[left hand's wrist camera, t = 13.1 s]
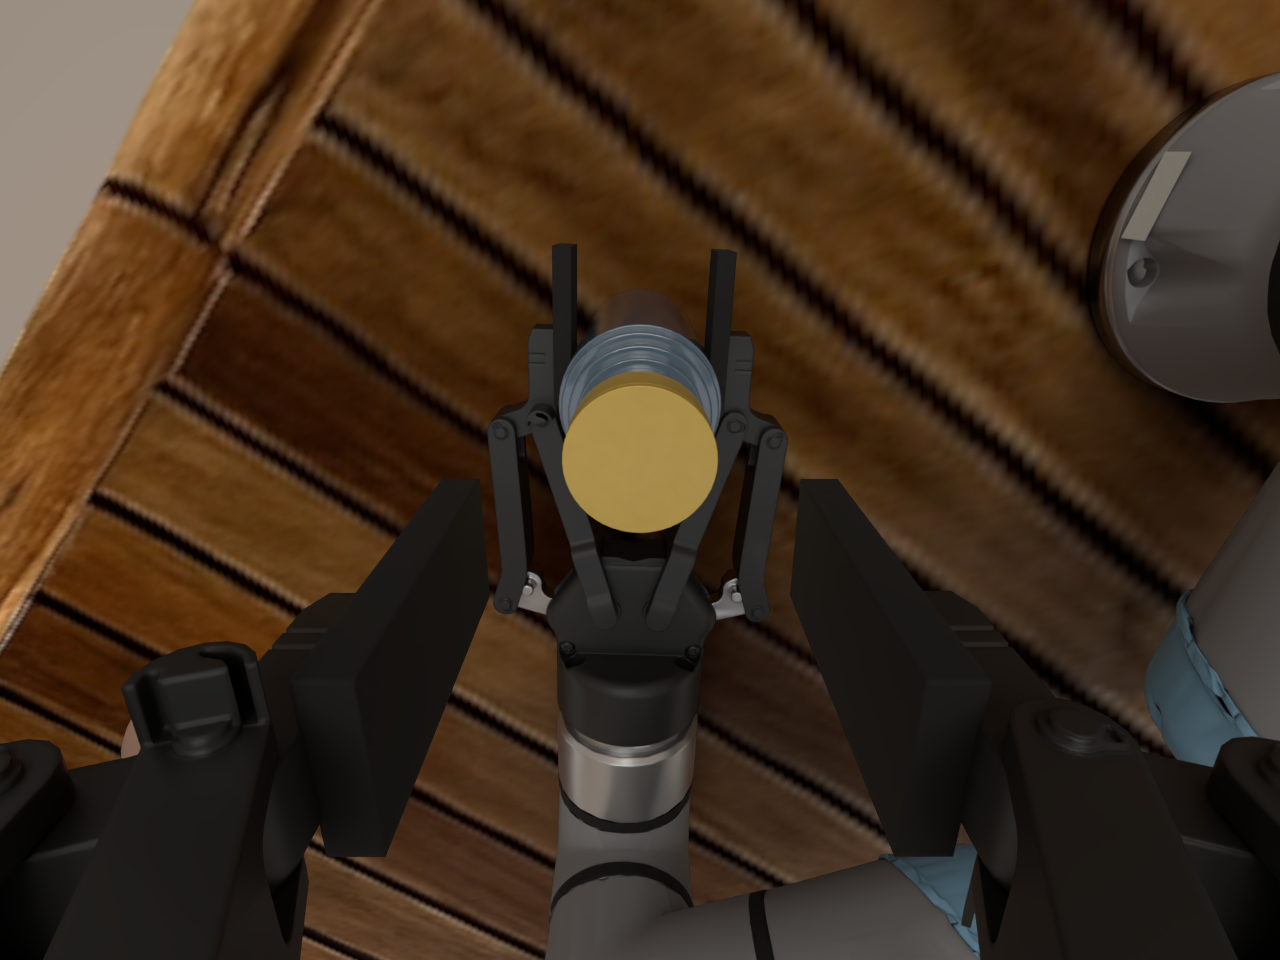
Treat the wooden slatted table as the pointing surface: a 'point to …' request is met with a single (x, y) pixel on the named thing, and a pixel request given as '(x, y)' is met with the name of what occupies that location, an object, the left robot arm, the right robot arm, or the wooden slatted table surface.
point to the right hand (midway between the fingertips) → (644, 248)
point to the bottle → (639, 351)
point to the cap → (639, 453)
